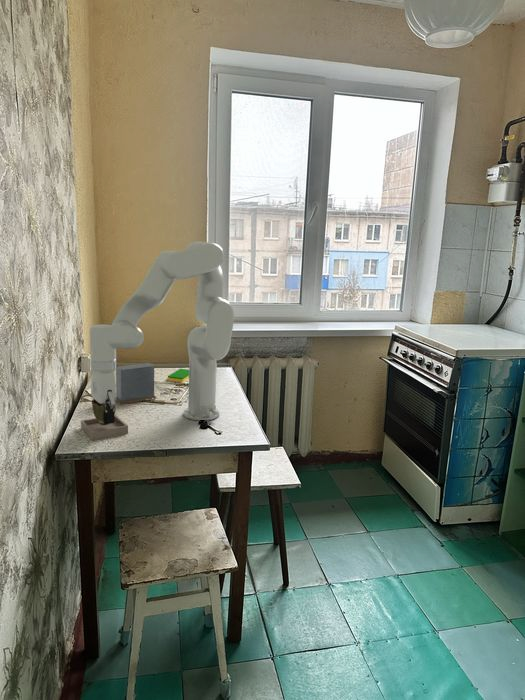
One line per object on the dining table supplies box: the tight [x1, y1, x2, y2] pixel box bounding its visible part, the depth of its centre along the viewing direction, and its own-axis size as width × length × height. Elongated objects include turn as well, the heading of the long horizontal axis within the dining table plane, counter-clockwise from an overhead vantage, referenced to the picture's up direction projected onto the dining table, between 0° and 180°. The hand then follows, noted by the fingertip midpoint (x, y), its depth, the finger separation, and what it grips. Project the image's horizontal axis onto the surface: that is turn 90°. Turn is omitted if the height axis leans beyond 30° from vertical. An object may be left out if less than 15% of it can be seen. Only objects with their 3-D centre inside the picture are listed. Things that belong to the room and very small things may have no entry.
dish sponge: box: [167, 368, 189, 383], centre depth 216 cm, size 7×14×2 cm, turn 166°
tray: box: [80, 414, 129, 441], centre depth 153 cm, size 11×11×2 cm
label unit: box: [115, 362, 157, 405], centre depth 182 cm, size 6×14×13 cm, turn 126°
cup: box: [91, 398, 118, 425], centre depth 152 cm, size 8×7×8 cm
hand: (104, 419), depth 153 cm, fingers closed on cup, 6 cm apart
